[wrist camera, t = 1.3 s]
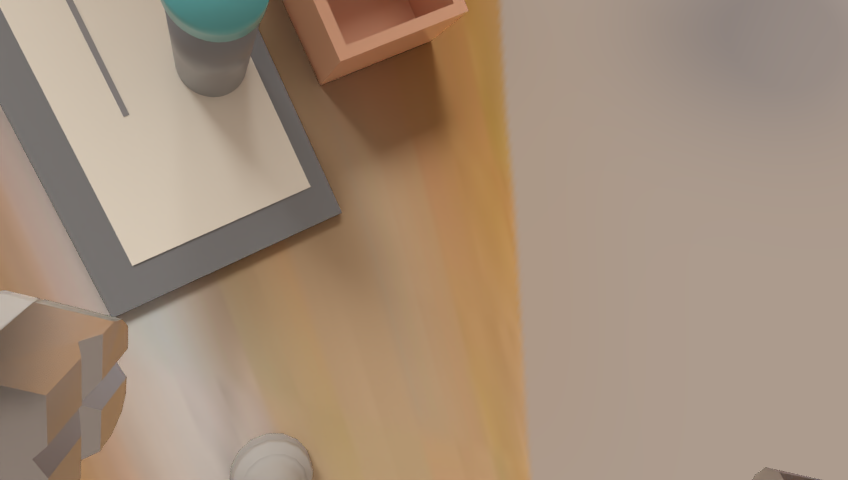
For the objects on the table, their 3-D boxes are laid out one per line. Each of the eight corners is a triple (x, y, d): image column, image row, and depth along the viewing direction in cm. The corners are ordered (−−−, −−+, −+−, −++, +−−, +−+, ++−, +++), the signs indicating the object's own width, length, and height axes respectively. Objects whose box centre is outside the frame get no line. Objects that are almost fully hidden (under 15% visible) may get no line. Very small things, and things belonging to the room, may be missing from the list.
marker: (159, 75, 35) (131, -13, 22) (193, 11, 36) (186, -113, 22) (228, 112, 36) (242, 48, 23) (261, 49, 37) (293, -48, 23)
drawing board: (-83, -60, 33) (-90, -66, 32) (180, -136, 36) (180, -143, 35) (113, 316, 36) (111, 318, 35) (339, 212, 39) (342, 212, 38)
